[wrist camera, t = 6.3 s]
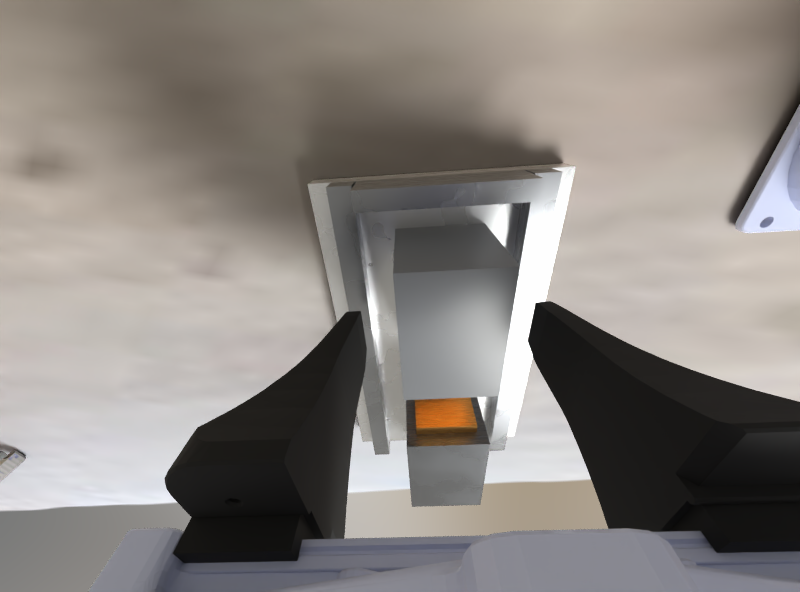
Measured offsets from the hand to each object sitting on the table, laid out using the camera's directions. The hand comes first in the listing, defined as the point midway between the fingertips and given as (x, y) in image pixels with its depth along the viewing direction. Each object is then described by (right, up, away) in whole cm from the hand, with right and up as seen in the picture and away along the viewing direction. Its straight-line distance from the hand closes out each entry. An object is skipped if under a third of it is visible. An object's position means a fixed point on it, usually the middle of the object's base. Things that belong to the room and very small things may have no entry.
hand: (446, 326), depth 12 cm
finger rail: (0, -1, +5) cm, 5 cm away
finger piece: (0, +2, +2) cm, 3 cm away
